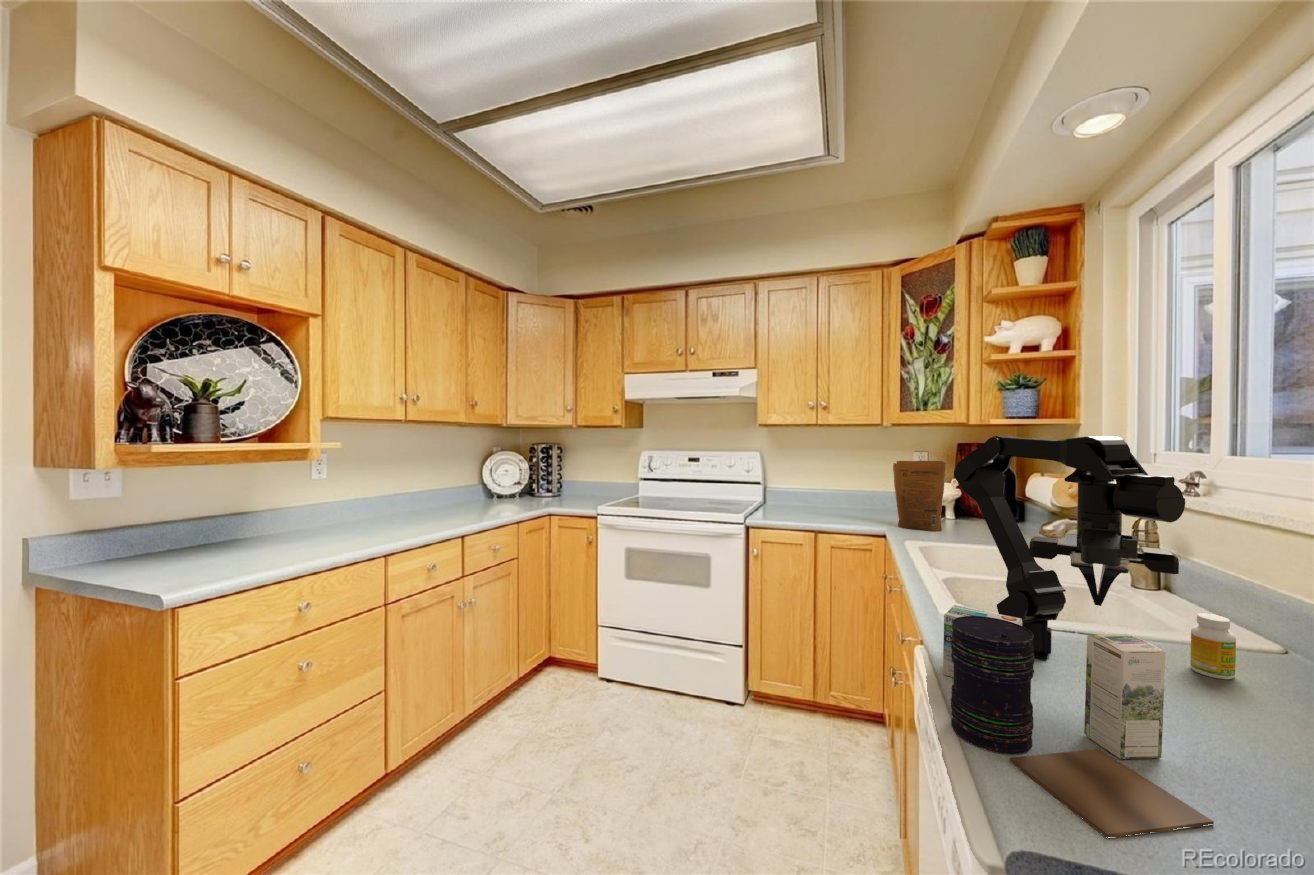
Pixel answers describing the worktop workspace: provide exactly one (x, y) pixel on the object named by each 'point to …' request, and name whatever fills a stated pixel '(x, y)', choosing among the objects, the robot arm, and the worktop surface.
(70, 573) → the worktop surface
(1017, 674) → the black ridged cylinder
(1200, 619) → the supplement bottle
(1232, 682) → the worktop surface
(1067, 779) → the plate
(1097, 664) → the syrup box
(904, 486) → the pancake mix bag
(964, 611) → the light bulb box
